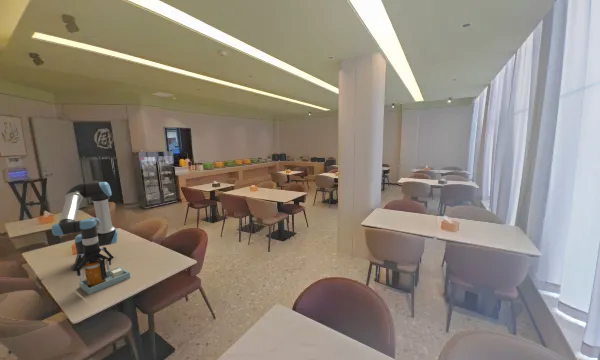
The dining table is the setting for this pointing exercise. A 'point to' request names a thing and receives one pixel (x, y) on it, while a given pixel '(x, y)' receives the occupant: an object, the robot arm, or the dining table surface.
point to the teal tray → (105, 284)
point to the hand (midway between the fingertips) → (95, 274)
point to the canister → (95, 271)
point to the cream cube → (116, 273)
